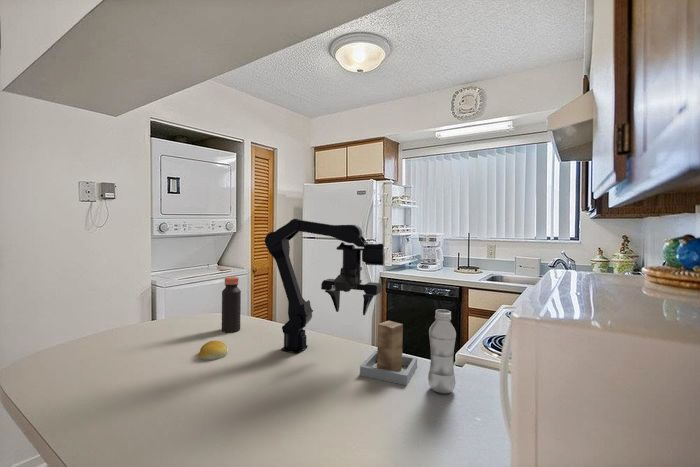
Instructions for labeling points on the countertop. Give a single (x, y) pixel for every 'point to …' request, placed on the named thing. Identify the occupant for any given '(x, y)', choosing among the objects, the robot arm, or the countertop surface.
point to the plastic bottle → (442, 353)
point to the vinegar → (231, 306)
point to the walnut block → (390, 346)
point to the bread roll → (213, 350)
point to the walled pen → (388, 375)
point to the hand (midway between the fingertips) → (350, 313)
